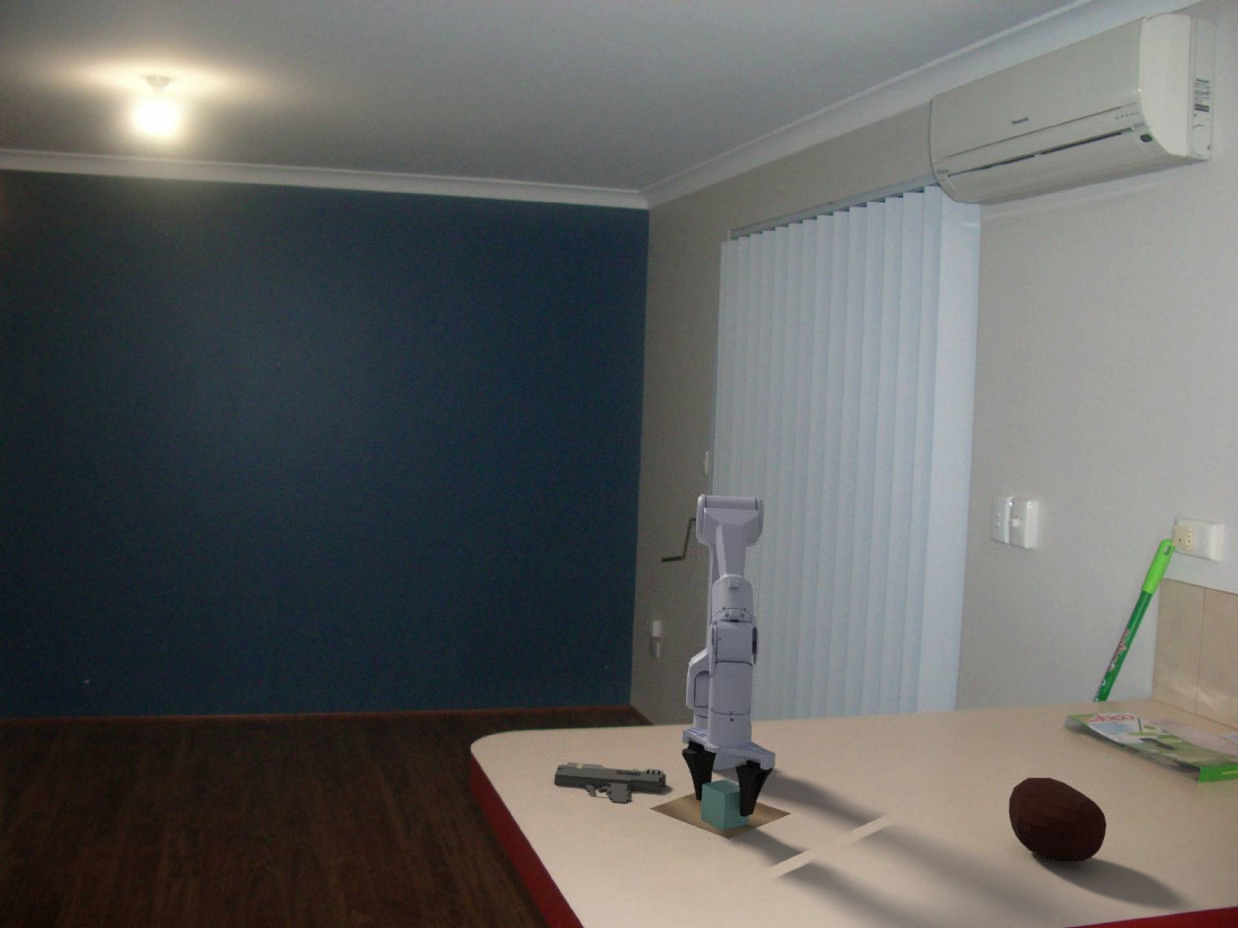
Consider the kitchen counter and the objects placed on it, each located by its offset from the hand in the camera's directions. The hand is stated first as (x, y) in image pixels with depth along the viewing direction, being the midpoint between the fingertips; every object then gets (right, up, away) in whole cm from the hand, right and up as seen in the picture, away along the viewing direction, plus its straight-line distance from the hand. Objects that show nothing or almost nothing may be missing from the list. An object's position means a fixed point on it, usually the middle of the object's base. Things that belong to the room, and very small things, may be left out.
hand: (724, 806), depth 164 cm
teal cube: (0, -2, 0) cm, 2 cm away
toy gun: (-16, -2, +11) cm, 20 cm away
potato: (+43, -6, -5) cm, 44 cm away
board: (0, -3, +4) cm, 5 cm away
